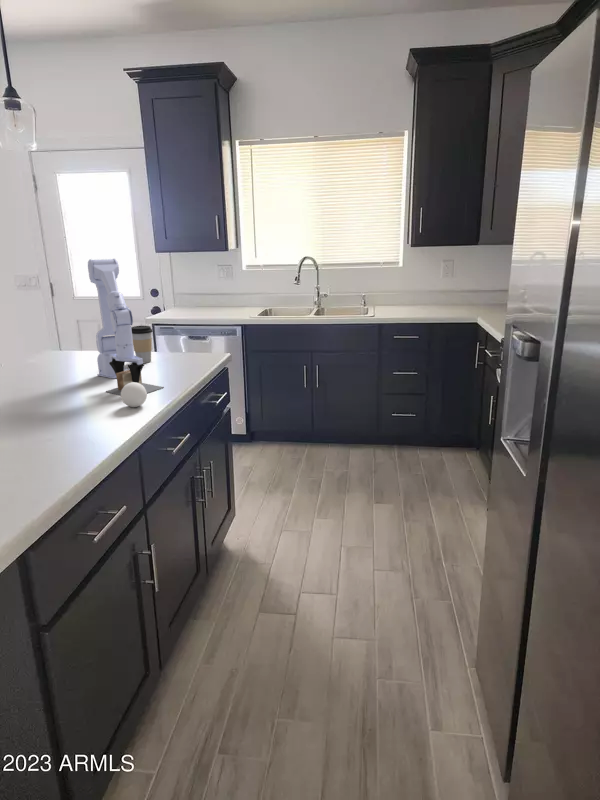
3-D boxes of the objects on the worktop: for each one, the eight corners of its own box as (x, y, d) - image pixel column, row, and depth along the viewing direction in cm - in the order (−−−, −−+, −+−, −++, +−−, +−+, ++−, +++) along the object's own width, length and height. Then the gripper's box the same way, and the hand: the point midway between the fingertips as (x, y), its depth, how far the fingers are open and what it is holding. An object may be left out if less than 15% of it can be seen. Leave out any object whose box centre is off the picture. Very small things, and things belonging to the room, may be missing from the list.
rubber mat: (105, 392, 183) (105, 391, 183) (136, 382, 194) (136, 381, 194) (134, 398, 176) (133, 397, 176) (163, 387, 188) (163, 387, 188)
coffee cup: (145, 358, 232) (142, 324, 227) (160, 361, 227) (157, 326, 222) (128, 362, 224) (124, 327, 220) (142, 365, 219) (138, 329, 215)
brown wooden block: (118, 389, 185) (116, 373, 183) (135, 384, 191) (133, 368, 189) (125, 391, 183) (123, 374, 181) (142, 385, 189) (140, 369, 188)
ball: (134, 412, 163) (132, 387, 160) (116, 408, 166) (113, 384, 164) (153, 405, 169) (151, 381, 167) (135, 401, 173) (133, 378, 171)
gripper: (100, 344, 182) (105, 381, 186) (130, 348, 175) (134, 387, 179) (116, 340, 188) (121, 376, 192) (145, 344, 181) (149, 382, 185)
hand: (128, 381), depth 186 cm, fingers open, 7 cm apart
